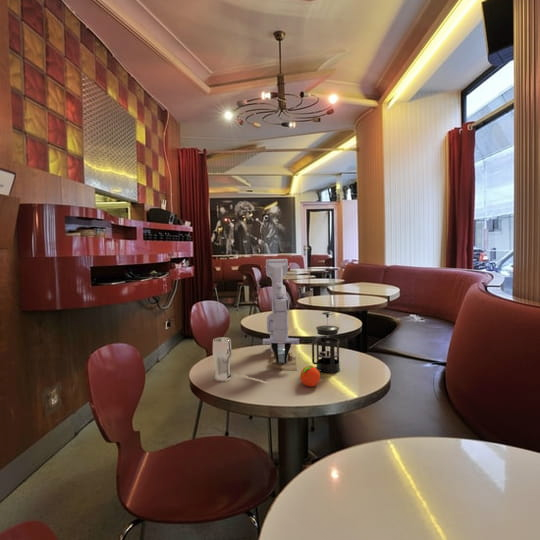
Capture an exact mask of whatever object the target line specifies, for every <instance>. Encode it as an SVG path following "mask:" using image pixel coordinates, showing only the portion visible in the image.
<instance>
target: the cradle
mask: <svg viewBox="0 0 540 540" xmlns="http://www.w3.org/2000/svg"><path fill="white" fill-rule="evenodd" d="M265 371H266V372H284V371H285V372H295V371H298V369H297V357H296V356H293V352H288V363H286V364H277V363H276V356H275V354H274V352H271V356H268V357H267V363H266V370H265Z"/></svg>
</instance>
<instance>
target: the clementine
mask: <svg viewBox="0 0 540 540" xmlns="http://www.w3.org/2000/svg"><path fill="white" fill-rule="evenodd" d="M319 371H320V370H318V369H317V367H315V366H312V365H306V366H305V367H304V368H302V370H301V372H300V376H299V377H300V380H301V382H302V384H303V385H304V386H306V387H315V386H317V385H318V384H319V382H320V380H321V374H320V372H319Z"/></svg>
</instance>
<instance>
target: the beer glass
mask: <svg viewBox="0 0 540 540" xmlns="http://www.w3.org/2000/svg"><path fill="white" fill-rule="evenodd" d="M212 357H213V362H214V366H215V373H214V380H215V381H217V382H227V381H230V380H231V379H232V374H231V370H230V369H231V361H232V360H231V359H232V340H231V338H230V337H225V336H223V337H216V338H213V340H212Z"/></svg>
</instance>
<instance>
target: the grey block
mask: <svg viewBox="0 0 540 540" xmlns="http://www.w3.org/2000/svg"><path fill="white" fill-rule="evenodd" d="M284 358H285V348H278V363H277V361H276V363H277V364H286V363H288V355H287V359H286V363H284Z"/></svg>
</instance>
